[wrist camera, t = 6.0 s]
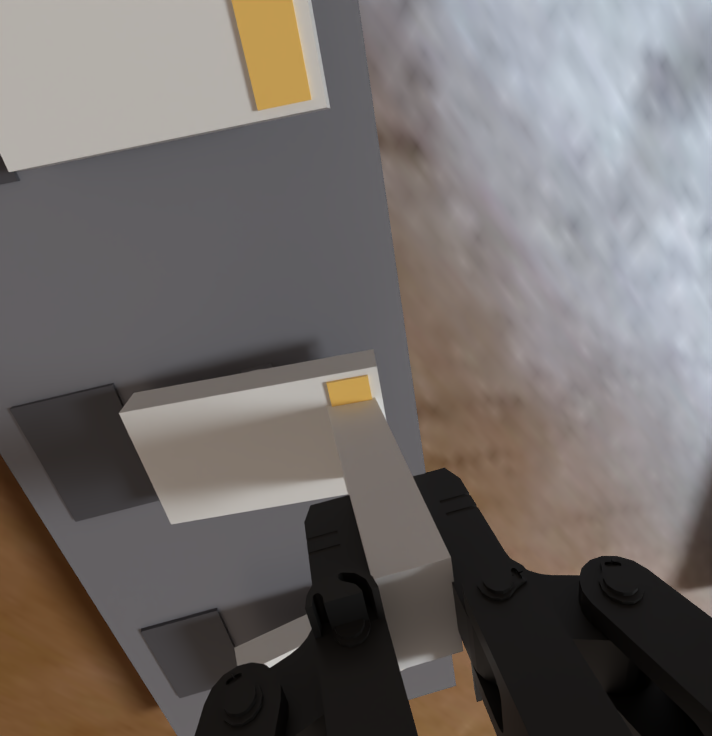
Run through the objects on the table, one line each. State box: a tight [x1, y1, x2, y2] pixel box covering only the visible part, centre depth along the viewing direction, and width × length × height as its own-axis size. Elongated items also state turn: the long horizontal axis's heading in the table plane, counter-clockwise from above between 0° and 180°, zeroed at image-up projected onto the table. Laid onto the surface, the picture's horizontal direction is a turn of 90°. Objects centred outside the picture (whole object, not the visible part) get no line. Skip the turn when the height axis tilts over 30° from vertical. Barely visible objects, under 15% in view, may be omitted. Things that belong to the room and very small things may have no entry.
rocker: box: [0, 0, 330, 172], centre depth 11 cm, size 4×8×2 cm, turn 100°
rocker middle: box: [119, 349, 386, 524], centre depth 16 cm, size 4×8×2 cm, turn 100°
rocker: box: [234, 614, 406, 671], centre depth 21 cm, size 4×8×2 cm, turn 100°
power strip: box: [0, 0, 456, 736], centre depth 20 cm, size 47×14×4 cm, turn 10°
